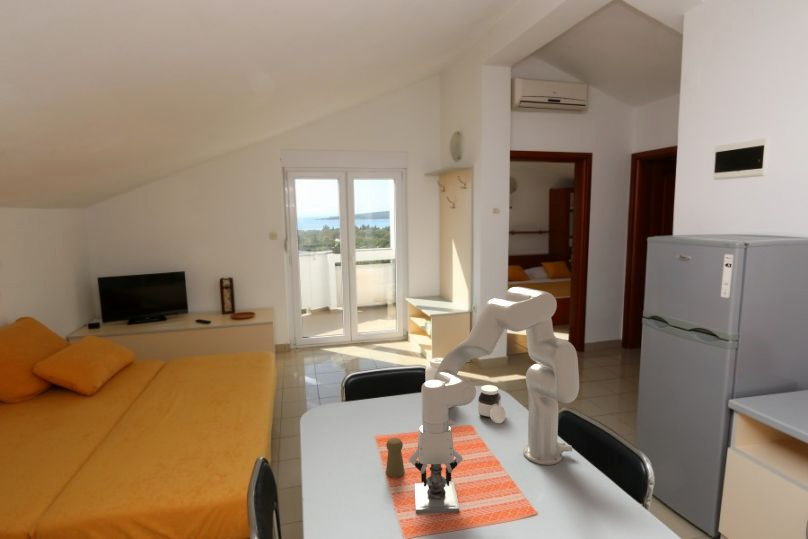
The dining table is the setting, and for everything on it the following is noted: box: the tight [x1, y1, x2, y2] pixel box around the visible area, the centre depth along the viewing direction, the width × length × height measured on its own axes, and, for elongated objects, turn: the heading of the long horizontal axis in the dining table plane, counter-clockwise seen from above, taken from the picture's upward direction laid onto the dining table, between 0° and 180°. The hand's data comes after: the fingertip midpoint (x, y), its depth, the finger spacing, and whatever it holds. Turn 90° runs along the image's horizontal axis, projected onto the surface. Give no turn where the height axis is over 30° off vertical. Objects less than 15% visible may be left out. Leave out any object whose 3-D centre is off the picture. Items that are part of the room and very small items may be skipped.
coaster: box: [414, 482, 460, 514], centre depth 130 cm, size 12×12×1 cm
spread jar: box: [477, 384, 507, 424], centre depth 180 cm, size 12×11×12 cm
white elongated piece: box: [424, 356, 453, 409], centre depth 193 cm, size 12×12×20 cm
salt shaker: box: [426, 464, 446, 498], centre depth 129 cm, size 6×6×12 cm
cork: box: [385, 437, 405, 479], centre depth 143 cm, size 6×6×11 cm
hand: (436, 482), depth 130 cm, fingers closed on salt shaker, 5 cm apart
